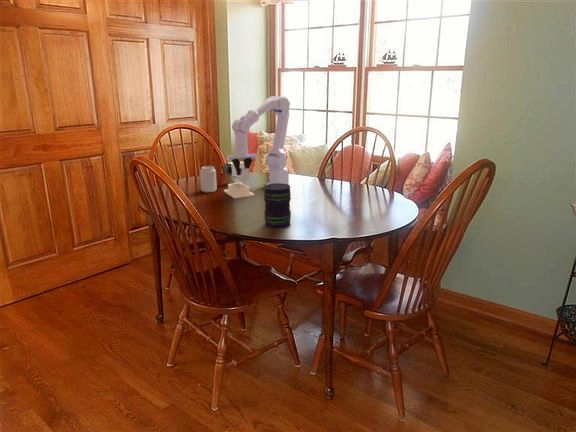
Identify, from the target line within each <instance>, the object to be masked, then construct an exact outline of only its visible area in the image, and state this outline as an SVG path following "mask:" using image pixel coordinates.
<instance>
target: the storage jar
mask: <svg viewBox="0 0 576 432" xmlns="http://www.w3.org/2000/svg"><path fill="white" fill-rule="evenodd" d="M267 184H268V183H267ZM263 189H264V191H263V197H264V199H263V200H264V204H265V207H264V209H265V210H264V226H265V227H266V228H267V229H273V230H281V229H286V228H287V229H288V228H290V227H291V217H292V215H291V214H292V212H291V211H292V210H291V208H290V207H291V205H290V204H291V185H290V184H289V185H288V184H281V183H275V184H268V185H266V184H265V185H264V186H263Z"/></svg>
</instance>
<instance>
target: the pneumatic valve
mask: <svg viewBox="0 0 576 432" xmlns="http://www.w3.org/2000/svg"><path fill="white" fill-rule="evenodd" d="M239 161H240V166H242V165H243V166H245V164H244V160H243V161H242V160H239ZM223 173H224V174H225V175H226V176H229V177H231V178H230V183H231V184H232V183H242V181H240V180H238V179H236V169H235V166H234V164H233V162H232V161H231V162H230V161H229V162H225V165H224V166H223Z"/></svg>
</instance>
